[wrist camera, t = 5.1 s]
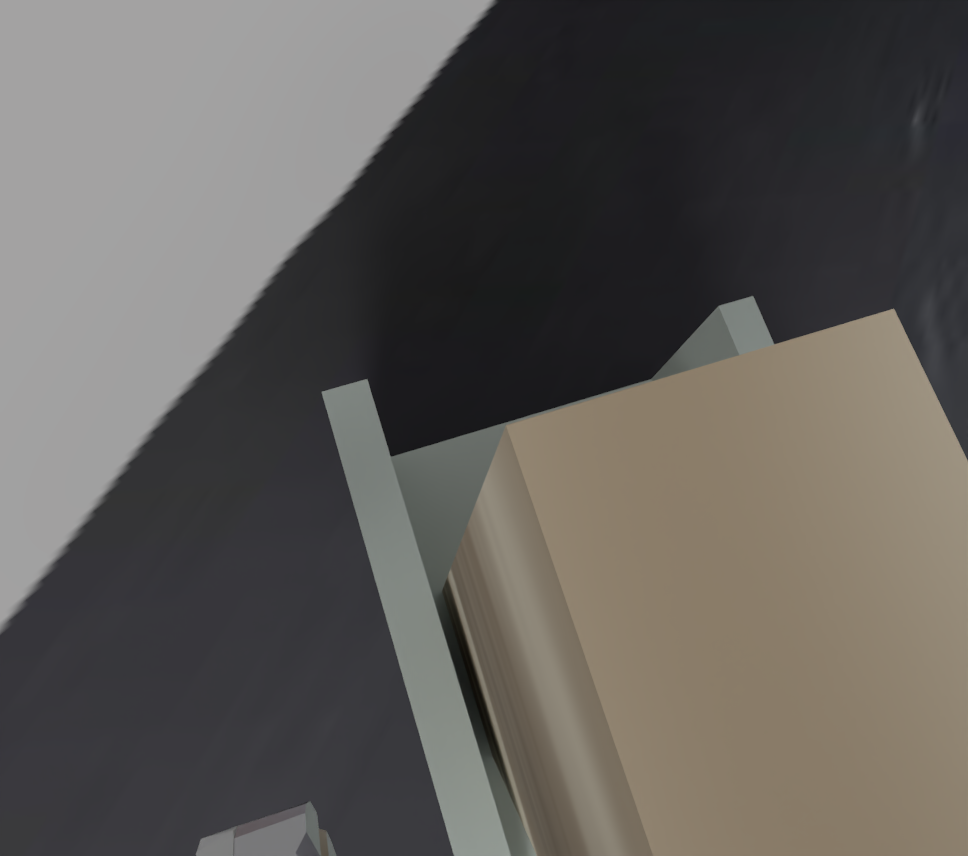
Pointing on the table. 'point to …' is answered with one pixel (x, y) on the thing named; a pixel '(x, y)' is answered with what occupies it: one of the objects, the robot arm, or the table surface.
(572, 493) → the birch board
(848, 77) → the table surface
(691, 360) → the offcut rack
